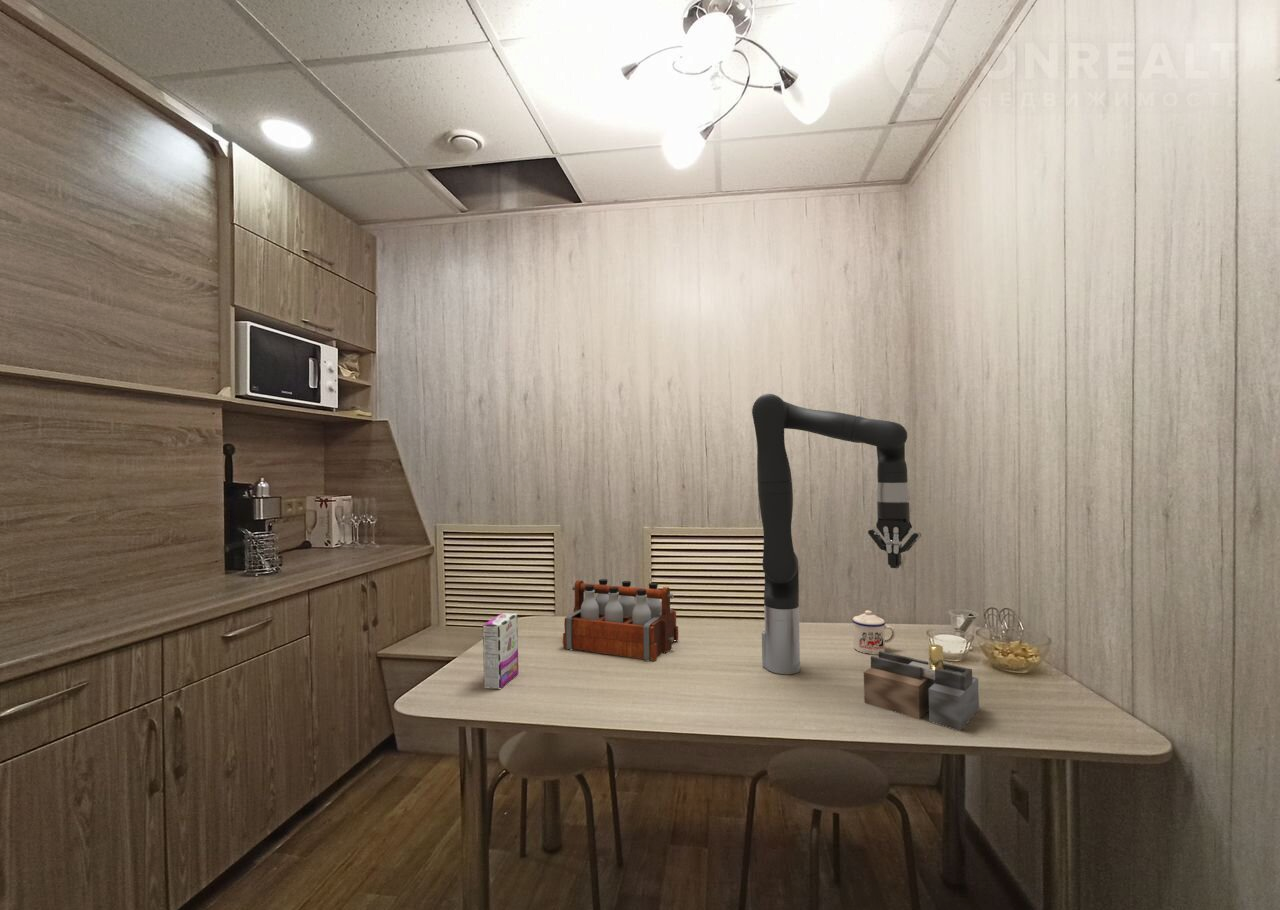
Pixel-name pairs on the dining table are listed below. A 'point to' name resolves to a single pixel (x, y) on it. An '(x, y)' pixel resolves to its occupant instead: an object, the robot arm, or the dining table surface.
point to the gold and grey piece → (933, 662)
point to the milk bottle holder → (621, 620)
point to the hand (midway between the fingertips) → (894, 567)
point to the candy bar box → (500, 650)
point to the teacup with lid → (870, 633)
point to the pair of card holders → (921, 690)
